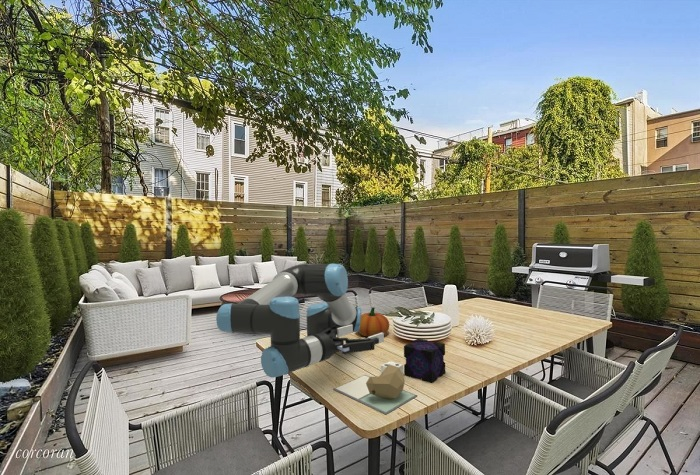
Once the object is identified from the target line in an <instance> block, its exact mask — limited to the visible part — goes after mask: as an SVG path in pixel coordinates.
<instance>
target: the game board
mask: <svg viewBox="0 0 700 475" xmlns="http://www.w3.org/2000/svg"><path fill="white" fill-rule="evenodd" d="M369 377H370V376H369V375H367V374H364V375H362V376H359V377H357V378H354V379H353V380H350V381H348V382H346V383H343V384H341V385H338V386H336V387H334V388H333V389H332V390H333V391H335V392H337V393H339V394H341V395H344V396H346V397H347V398H350V399H352V400H354V401H356V402H358V403H360V404H362V405H365V406H366V407H368V408H370V409H372V410H375V411H376V412H379V413H381V414H383V415H385V416H387V415H388V414H390V413H391V412H394V411H395V410H396V409H398V408H400V407H402V406H403V405H405V404H407V403H408V402H410V401H412V400H413V399H415V398H417V397H418V395H417V394H415V393H412V392H410V391H408V390H407V391H406V390H404V389H403V391H402V392H401V393H400V394H399V395H398V396H397V397H396V398H394V399H386V398H381V397H378V396H375V395H372V394H370V393H369V390H368V388H367V385H366V382H367V381H368V379H369Z"/></svg>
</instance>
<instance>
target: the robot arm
mask: <svg viewBox="0 0 700 475" xmlns="http://www.w3.org/2000/svg"><path fill="white" fill-rule="evenodd" d="M348 278H349V277H348V273H347V269H346V268H345V266H344V265H342V264H339V263H302V264H301V263H300V264H297V265H296V264H295V265H292V266H291V267H287V268H286V269H283V270H281V271H280V272H278V273H277V274H275V276H273V279H272V280H271V281H270V282H267V284H265V285H264V286H262V287H261V288H260V289H258V290H256V291H254V293H251V294H250V295H249V296H247V297H246V298H244V299H242V300H241V301H239V302H238V303H232V302H230V303H224V304H222V305H221V306H220V307H219V309H218V310H217V313H216V317H215V318H216V319H215V320H216V326H217V328H218V330H219V331H220V332H223V333H231V334H261V335H270V346H268V347H266V348H264V349H263V350H262V352H261V356H260V364H261V368H262V370H263V372H264V374H265V375H266V376H268V377H269V378H273V379H274V378H277V377H281V376H286V375H288V374H289V373H290V374H291V373H293V372H295V371H297V370H301V369H304V368H309V367H310V366H312V365H316V364H318V363H321V362H324V361H327V360H329V359H331V358H332V356H333V354H335V353H338V352H341V353H342V355H348V354H353V353H359V352H360V353H361V352H368V351H375V350H376V348H375V345H379V344H381V343H384V341H385V340H384V339H385V338H384V336H385V335H384V333H379V334H376V335H373V336H370V337H368V336H367V338H348V337H343V336H347V335H349V334H354V333H358V331H359V330H360V324H361V315H362V308H361V307H360V306H358V305H357V306H355V305H354V304H353V303H352V302H350V301H349V298H348V297H347V294H346V293H347V291H348V287H349V279H348ZM294 296H317V297H318V298H319V299H320V300H321V301H322V302H317V303H314V304H311V305H309V306H307V308H306V314H305V316H306V336H305V337H301V330H300V329H301V326H300V324H301V319H300V318H301V313H300V303H299V300H298V298H296V297H294Z"/></svg>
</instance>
